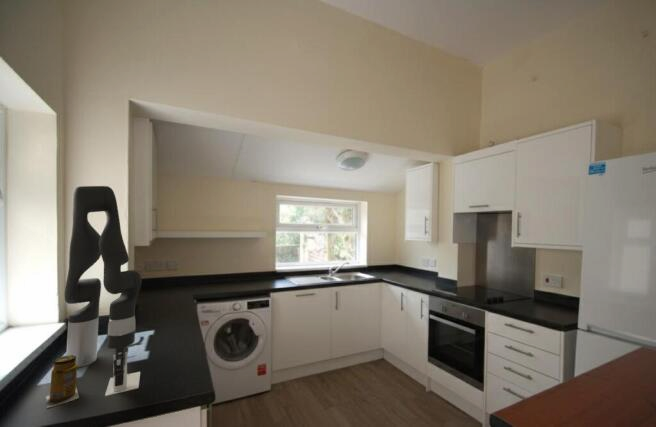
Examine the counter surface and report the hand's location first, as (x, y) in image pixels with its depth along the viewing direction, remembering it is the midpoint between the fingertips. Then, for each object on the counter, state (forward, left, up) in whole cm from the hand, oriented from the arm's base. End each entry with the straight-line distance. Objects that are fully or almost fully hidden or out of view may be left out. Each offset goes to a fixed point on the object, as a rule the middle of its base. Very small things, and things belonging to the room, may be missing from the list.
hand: (119, 382), depth 93 cm
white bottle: (0, 0, -2) cm, 2 cm away
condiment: (-4, -15, -3) cm, 16 cm away
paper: (-4, +1, -3) cm, 5 cm away
